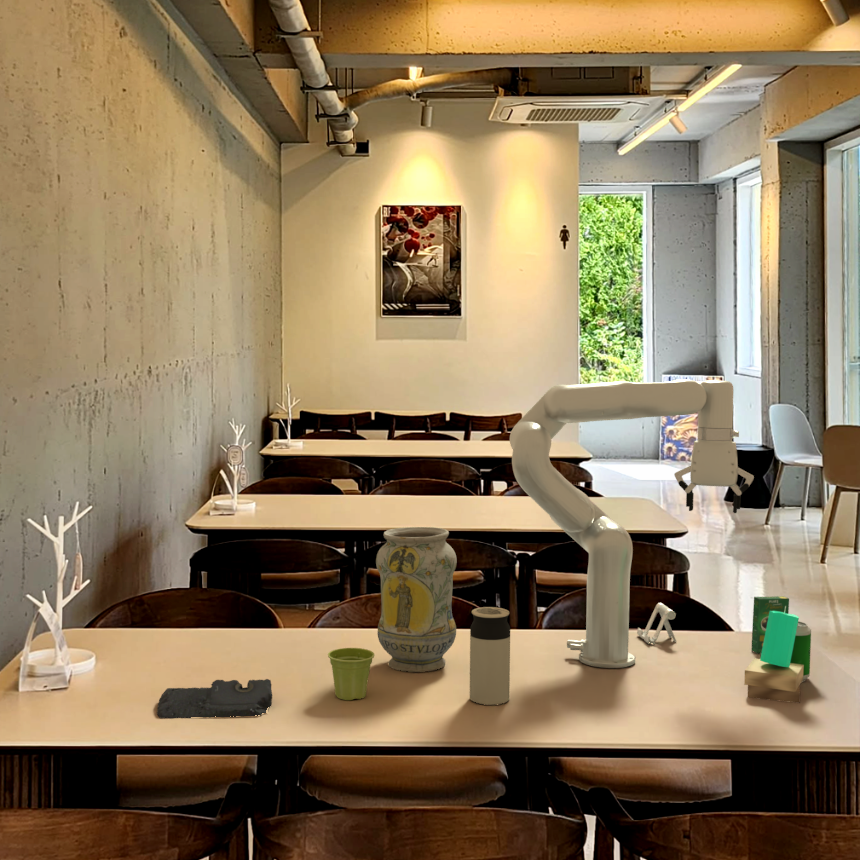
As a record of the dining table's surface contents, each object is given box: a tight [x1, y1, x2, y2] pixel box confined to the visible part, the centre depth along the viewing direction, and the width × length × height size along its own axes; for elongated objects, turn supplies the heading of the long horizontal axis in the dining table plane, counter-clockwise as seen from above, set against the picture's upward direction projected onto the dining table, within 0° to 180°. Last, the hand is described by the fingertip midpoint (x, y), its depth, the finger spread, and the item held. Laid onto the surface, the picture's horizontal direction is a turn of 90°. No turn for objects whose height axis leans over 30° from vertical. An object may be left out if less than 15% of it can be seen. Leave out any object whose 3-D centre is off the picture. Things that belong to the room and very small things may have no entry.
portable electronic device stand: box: [636, 602, 677, 645], centre depth 266 cm, size 9×8×8 cm
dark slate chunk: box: [156, 678, 273, 720], centre depth 214 cm, size 15×22×5 cm
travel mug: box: [469, 606, 511, 706], centre depth 218 cm, size 8×8×18 cm
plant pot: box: [327, 647, 375, 701], centre depth 220 cm, size 9×9×9 cm
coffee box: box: [750, 595, 790, 654], centre depth 256 cm, size 8×3×13 cm, turn 103°
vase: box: [375, 526, 458, 673], centre depth 243 cm, size 18×18×30 cm
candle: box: [759, 606, 800, 667], centre depth 225 cm, size 6×6×12 cm
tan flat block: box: [747, 684, 801, 703], centre depth 225 cm, size 10×10×3 cm
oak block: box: [743, 657, 804, 692], centre depth 225 cm, size 10×10×3 cm
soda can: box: [790, 620, 812, 683], centre depth 235 cm, size 8×8×12 cm
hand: (712, 511), depth 246 cm, fingers open, 9 cm apart
